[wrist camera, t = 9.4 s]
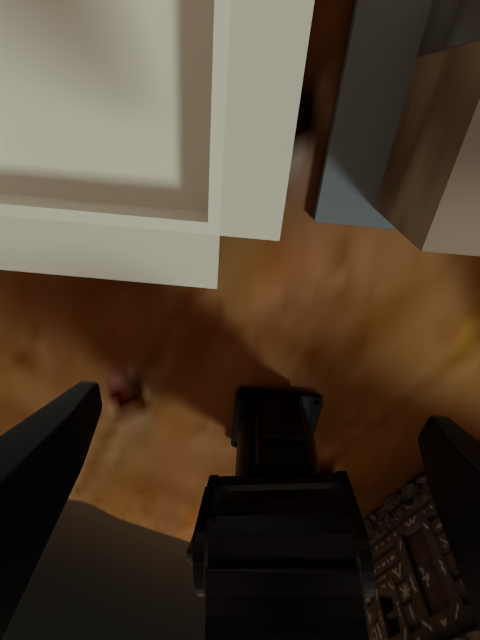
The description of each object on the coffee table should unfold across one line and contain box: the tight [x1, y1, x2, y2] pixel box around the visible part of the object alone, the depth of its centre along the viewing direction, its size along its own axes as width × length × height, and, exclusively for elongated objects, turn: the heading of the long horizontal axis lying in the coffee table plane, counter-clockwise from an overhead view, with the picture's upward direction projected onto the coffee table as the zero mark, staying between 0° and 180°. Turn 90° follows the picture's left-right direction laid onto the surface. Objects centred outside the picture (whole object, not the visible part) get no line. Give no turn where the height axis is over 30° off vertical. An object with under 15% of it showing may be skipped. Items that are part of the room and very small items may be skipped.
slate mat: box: [313, 0, 433, 229], centre depth 16 cm, size 10×10×1 cm
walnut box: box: [374, 0, 480, 256], centre depth 13 cm, size 8×4×6 cm, turn 175°
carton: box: [0, 0, 315, 289], centre depth 14 cm, size 21×20×2 cm
